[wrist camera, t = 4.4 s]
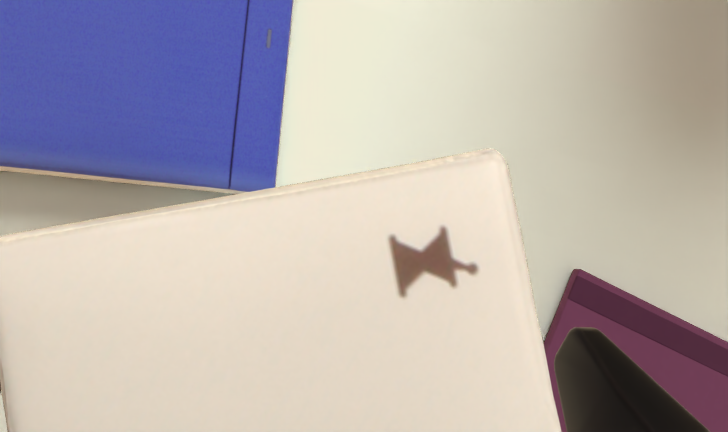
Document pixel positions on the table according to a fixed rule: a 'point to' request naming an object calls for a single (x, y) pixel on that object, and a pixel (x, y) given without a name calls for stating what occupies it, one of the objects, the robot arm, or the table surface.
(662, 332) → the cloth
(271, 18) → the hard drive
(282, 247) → the cosmetic box
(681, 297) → the table surface
